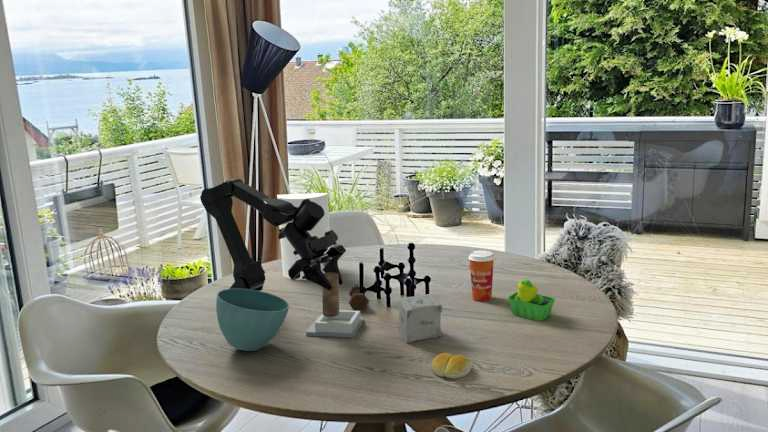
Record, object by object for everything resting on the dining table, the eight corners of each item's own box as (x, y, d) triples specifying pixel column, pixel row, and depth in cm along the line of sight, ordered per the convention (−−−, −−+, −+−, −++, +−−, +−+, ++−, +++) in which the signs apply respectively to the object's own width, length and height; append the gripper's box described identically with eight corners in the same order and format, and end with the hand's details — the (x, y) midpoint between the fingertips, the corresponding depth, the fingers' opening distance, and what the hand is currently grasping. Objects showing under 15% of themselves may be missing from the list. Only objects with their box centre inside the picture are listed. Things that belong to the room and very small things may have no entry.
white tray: (306, 335, 182) (305, 323, 182) (319, 319, 194) (318, 307, 193) (353, 337, 180) (352, 324, 179) (363, 320, 191) (363, 309, 190)
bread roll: (441, 361, 164) (441, 345, 163) (475, 368, 159) (475, 352, 158) (424, 374, 157) (424, 358, 156) (459, 382, 152) (459, 366, 151)
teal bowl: (236, 362, 162) (246, 313, 160) (194, 335, 173) (202, 289, 172) (293, 354, 176) (303, 309, 174) (250, 329, 187) (259, 286, 186)
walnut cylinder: (322, 317, 180) (321, 277, 178) (322, 311, 185) (322, 272, 182) (339, 316, 181) (338, 276, 178) (339, 310, 185) (338, 271, 182)
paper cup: (466, 301, 203) (465, 256, 200) (472, 293, 210) (472, 249, 207) (492, 303, 200) (491, 257, 197) (497, 295, 207) (497, 251, 204)
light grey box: (407, 345, 173) (406, 306, 171) (397, 333, 181) (396, 296, 179) (443, 339, 176) (442, 301, 174) (432, 328, 184) (431, 291, 181)
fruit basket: (556, 315, 189) (556, 276, 187) (539, 325, 183) (540, 284, 180) (520, 307, 197) (520, 269, 194) (503, 315, 190) (503, 277, 188)
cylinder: (330, 279, 230) (325, 197, 224) (279, 281, 231) (272, 199, 225) (334, 264, 247) (329, 188, 241) (286, 266, 248) (281, 190, 242)
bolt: (359, 300, 214) (362, 315, 200) (345, 293, 213) (346, 308, 199) (367, 283, 214) (371, 298, 199) (353, 277, 213) (355, 290, 198)
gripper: (293, 230, 171) (330, 279, 168) (339, 215, 186) (373, 259, 183) (272, 256, 177) (307, 303, 174) (318, 240, 192) (351, 283, 189)
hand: (336, 286), depth 180 cm, fingers closed on walnut cylinder, 4 cm apart
